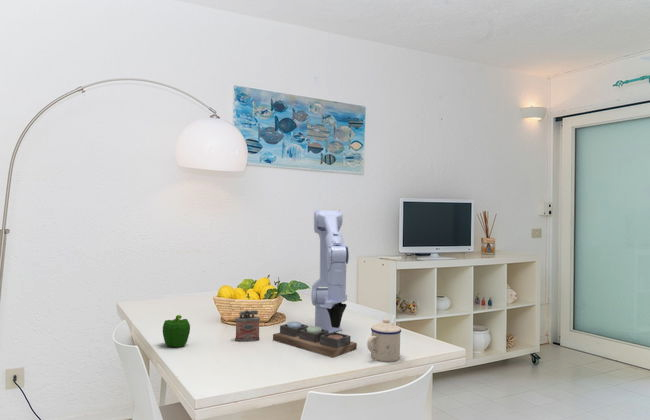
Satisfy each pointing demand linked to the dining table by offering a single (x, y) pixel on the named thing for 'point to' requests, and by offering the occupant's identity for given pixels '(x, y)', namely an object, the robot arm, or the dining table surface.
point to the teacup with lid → (385, 341)
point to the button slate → (294, 324)
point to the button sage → (314, 329)
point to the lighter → (247, 326)
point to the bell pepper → (176, 331)
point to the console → (315, 340)
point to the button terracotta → (335, 336)
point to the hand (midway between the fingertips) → (335, 327)
